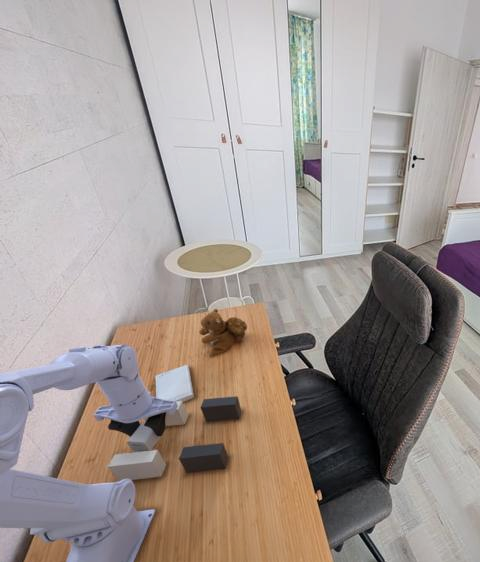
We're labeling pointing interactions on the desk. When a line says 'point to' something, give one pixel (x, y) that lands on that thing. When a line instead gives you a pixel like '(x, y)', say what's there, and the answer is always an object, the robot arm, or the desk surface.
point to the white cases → (145, 455)
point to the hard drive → (175, 385)
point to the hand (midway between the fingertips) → (150, 433)
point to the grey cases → (213, 453)
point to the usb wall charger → (143, 439)
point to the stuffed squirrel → (221, 331)
